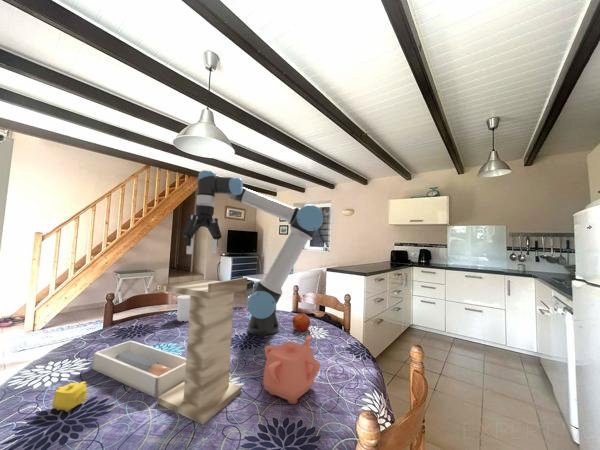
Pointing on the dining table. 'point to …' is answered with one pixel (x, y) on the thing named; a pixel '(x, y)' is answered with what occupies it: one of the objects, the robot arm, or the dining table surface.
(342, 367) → the dining table surface
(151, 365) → the grey long square-ended piece
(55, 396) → the toy block
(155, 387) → the tray
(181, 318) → the candle holder
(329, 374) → the dining table surface
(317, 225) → the robot arm
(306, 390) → the teapot
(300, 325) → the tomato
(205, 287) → the wooden pedestal stand
